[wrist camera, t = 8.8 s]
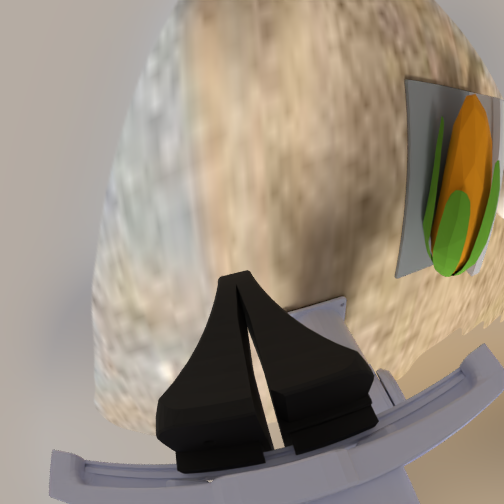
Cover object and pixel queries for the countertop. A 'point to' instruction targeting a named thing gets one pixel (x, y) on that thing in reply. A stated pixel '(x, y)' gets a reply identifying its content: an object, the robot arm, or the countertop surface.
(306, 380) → the robot arm
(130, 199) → the countertop surface
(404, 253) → the bracket
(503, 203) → the white glossy round part
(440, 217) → the toy fruit
